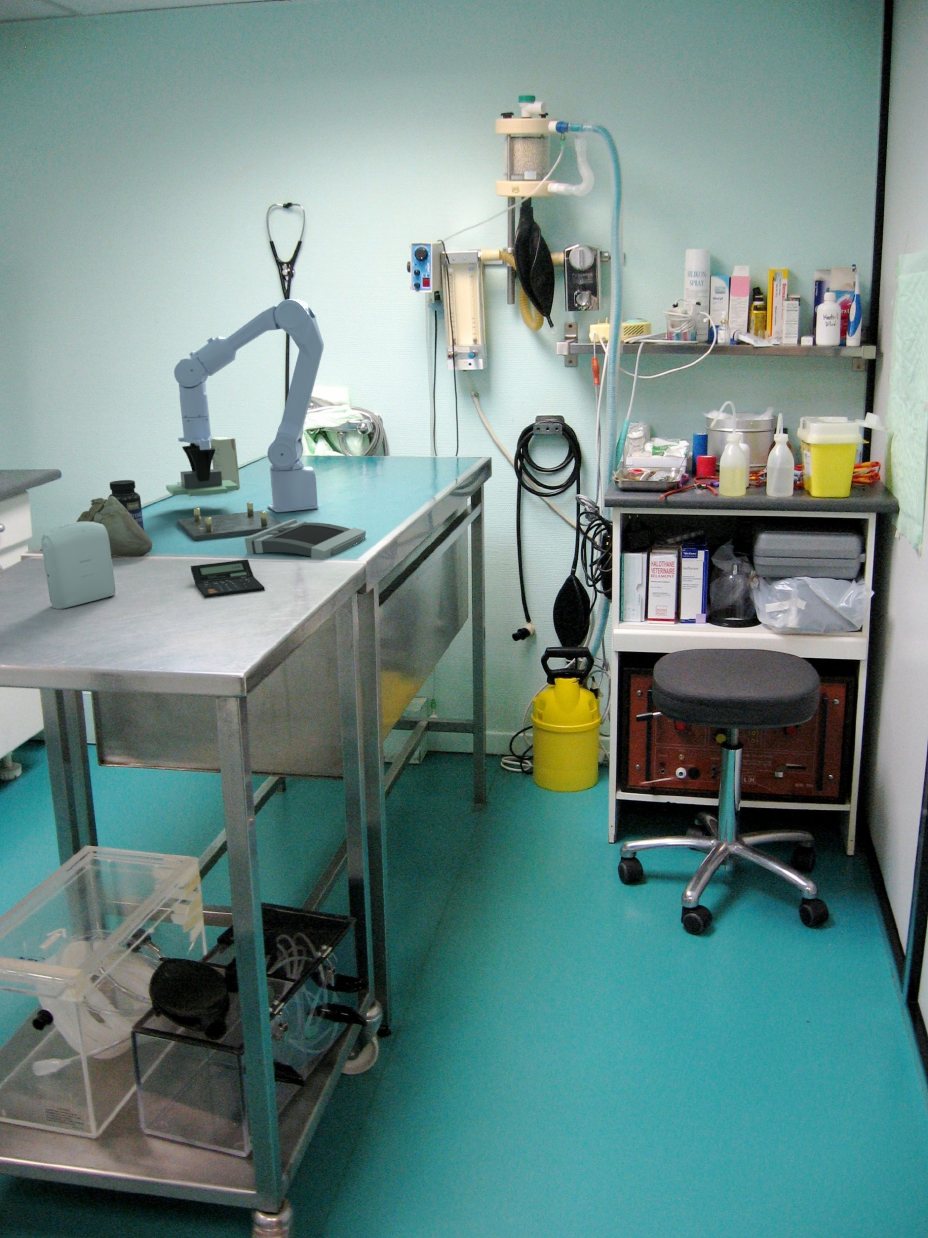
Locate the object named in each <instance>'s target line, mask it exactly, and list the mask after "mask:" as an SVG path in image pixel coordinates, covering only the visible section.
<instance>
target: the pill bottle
mask: <svg viewBox="0 0 928 1238" xmlns="http://www.w3.org/2000/svg"><path fill="white" fill-rule="evenodd" d="M135 489H136V481H135V480H131V479H124V480H123V479H122V480H114V481H113V480H112V481H111V482H109V490H111V493H110V494H109V495H108V497H110V496H113V497H115V498H116V499H117V500H118V501H119V502H120V503H121V504H122V505H123V506H124V507H125V508H126V510H127V511H128V512H129V513H130V515H131V516H132V517H133V518H134V520H135V521H136V522H137V523H138V524H139V526H140V527H141V528H142V529H143V531H144V532H145V527H144V519H143V518H144V517H143V509H142V502H141V501H142V500H141V495H140V494H139V493H138V492H136V490H135Z"/></svg>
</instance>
